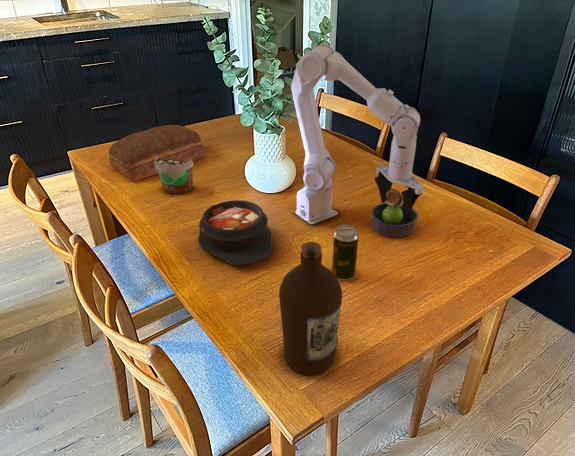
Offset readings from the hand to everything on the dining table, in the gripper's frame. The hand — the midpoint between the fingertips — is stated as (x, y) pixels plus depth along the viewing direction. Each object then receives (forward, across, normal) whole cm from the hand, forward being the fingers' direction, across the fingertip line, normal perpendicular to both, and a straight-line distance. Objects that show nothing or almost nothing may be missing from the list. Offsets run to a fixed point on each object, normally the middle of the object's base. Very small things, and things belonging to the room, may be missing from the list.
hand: (395, 207), depth 119 cm
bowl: (+6, 0, 0) cm, 6 cm away
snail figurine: (+6, 0, 0) cm, 6 cm away
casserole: (+6, +18, +38) cm, 42 cm away
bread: (+6, +76, +36) cm, 84 cm away
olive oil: (+6, -23, +45) cm, 51 cm away
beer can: (+6, -8, +24) cm, 26 cm away
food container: (+6, +53, +40) cm, 67 cm away
